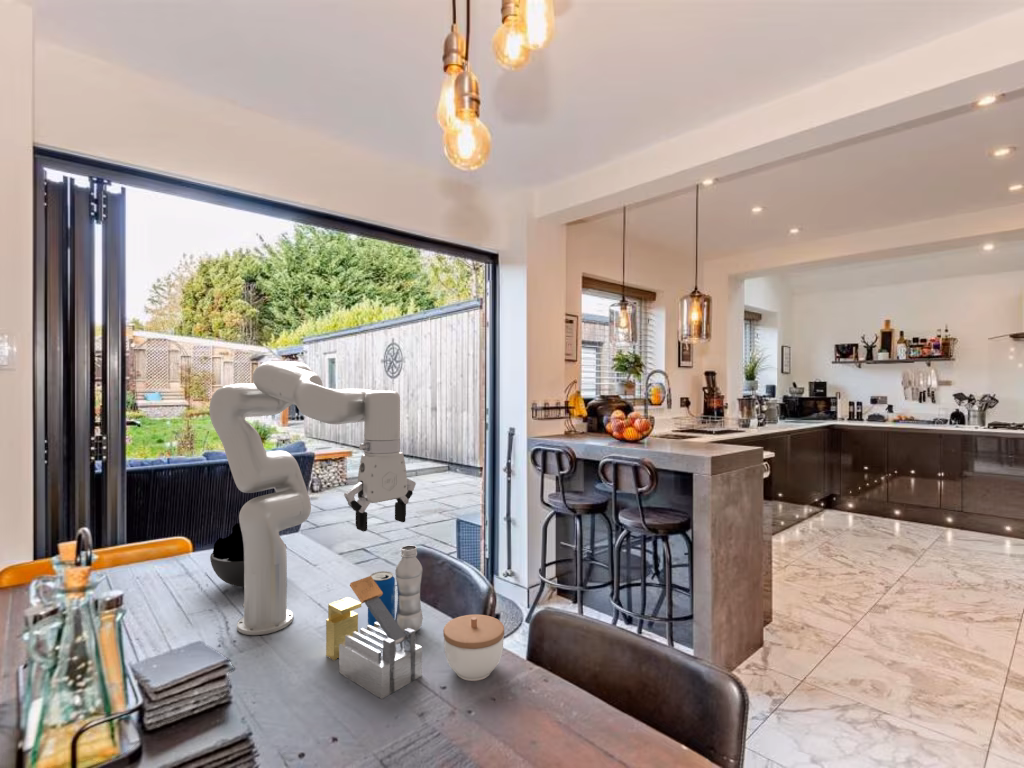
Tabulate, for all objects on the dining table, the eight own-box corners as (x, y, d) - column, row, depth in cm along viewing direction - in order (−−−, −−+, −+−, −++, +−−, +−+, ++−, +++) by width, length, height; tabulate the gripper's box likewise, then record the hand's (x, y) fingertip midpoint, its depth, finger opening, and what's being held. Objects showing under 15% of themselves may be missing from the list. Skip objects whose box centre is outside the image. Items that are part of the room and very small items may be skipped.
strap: (409, 638, 106) (412, 634, 105) (389, 648, 102) (392, 643, 101) (368, 580, 114) (370, 575, 114) (348, 587, 110) (350, 582, 110)
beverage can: (387, 631, 126) (388, 581, 126) (363, 628, 127) (363, 579, 127) (398, 619, 132) (399, 571, 132) (375, 616, 134) (375, 569, 133)
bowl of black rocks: (210, 604, 140) (210, 534, 140) (209, 579, 158) (209, 516, 157) (291, 589, 150) (291, 524, 150) (282, 567, 168) (282, 508, 167)
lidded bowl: (480, 696, 100) (481, 639, 100) (430, 676, 107) (430, 622, 107) (515, 666, 111) (515, 614, 111) (467, 649, 118) (467, 600, 118)
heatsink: (339, 672, 108) (339, 624, 108) (379, 653, 116) (379, 608, 116) (381, 699, 99) (381, 646, 99) (421, 675, 107) (422, 627, 107)
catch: (326, 655, 115) (326, 604, 114) (349, 645, 119) (350, 596, 119) (339, 663, 111) (339, 611, 111) (363, 652, 116) (363, 602, 116)
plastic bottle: (427, 626, 128) (427, 545, 128) (413, 639, 122) (413, 553, 122) (404, 622, 131) (404, 542, 130) (389, 634, 124) (389, 550, 124)
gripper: (355, 453, 105) (354, 537, 106) (424, 445, 118) (423, 521, 118) (336, 449, 111) (336, 530, 111) (404, 442, 123) (404, 514, 124)
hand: (381, 525), depth 115 cm, fingers open, 9 cm apart
